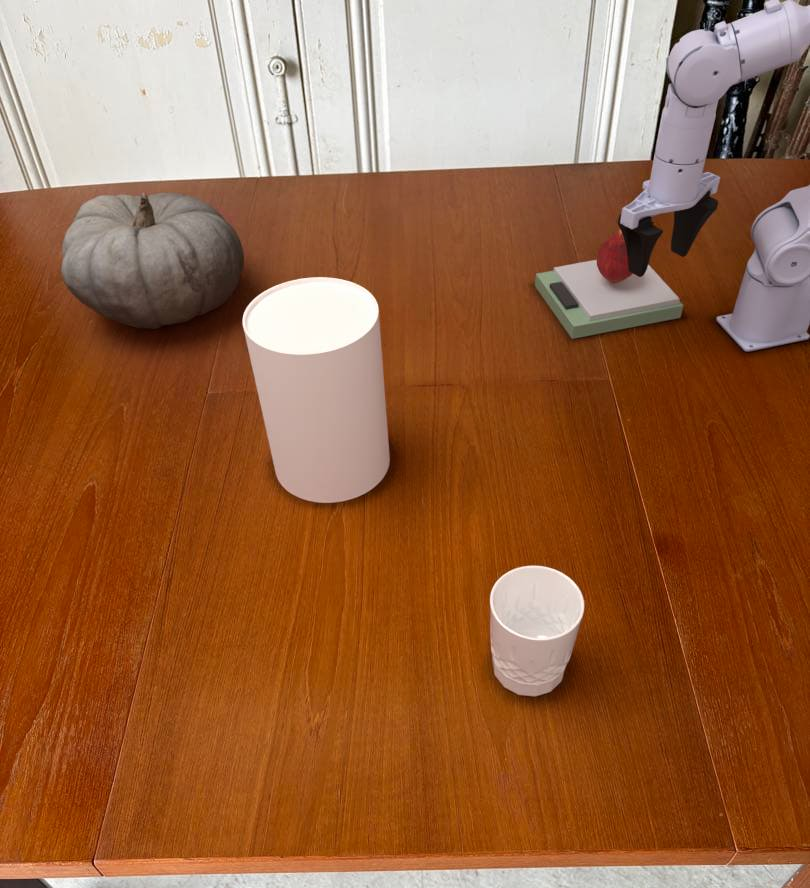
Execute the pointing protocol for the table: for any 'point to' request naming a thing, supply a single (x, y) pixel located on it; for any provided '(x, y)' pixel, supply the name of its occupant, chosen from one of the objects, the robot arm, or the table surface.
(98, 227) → the gourd
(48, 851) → the table surface
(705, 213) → the robot arm
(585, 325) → the scale
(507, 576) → the white cup
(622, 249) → the onion
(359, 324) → the canister
